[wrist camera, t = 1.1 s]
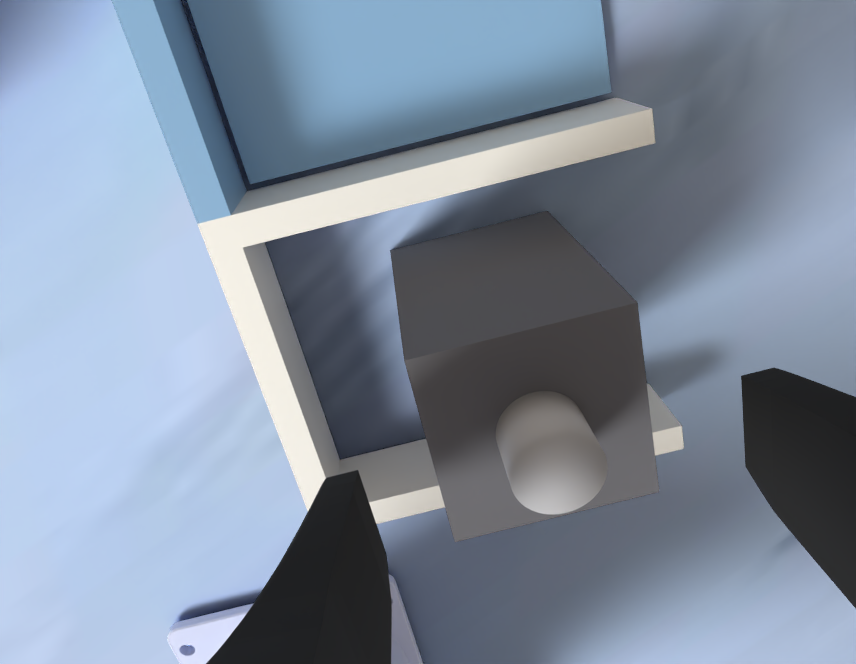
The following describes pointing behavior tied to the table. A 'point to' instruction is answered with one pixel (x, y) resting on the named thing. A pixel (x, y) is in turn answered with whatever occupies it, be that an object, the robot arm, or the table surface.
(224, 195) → the two-rail blue tray
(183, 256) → the table surface
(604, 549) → the table surface
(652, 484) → the plug
